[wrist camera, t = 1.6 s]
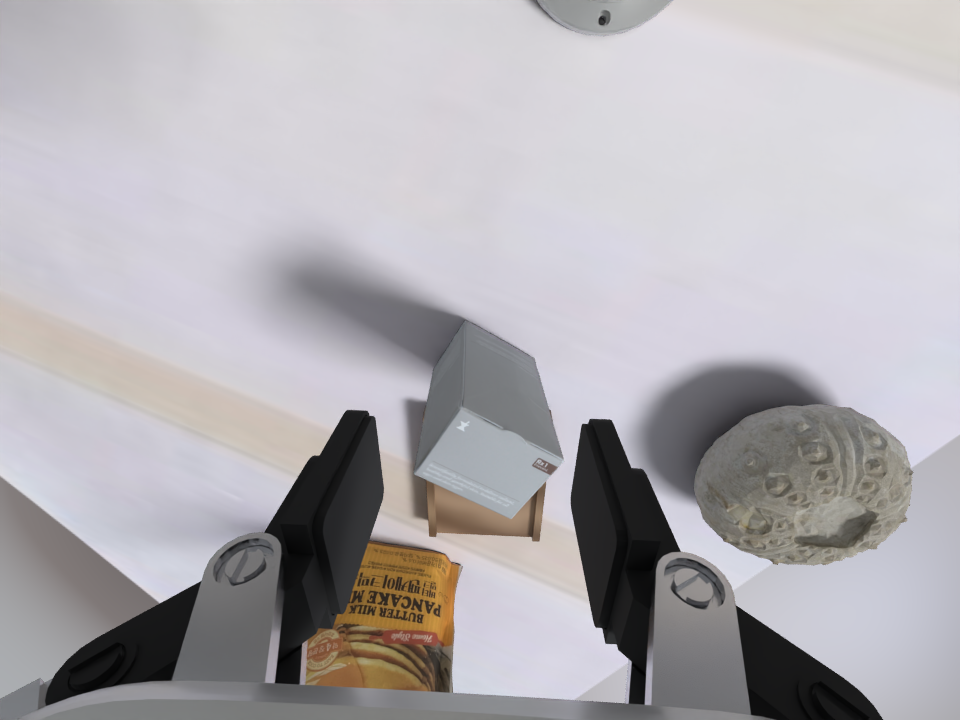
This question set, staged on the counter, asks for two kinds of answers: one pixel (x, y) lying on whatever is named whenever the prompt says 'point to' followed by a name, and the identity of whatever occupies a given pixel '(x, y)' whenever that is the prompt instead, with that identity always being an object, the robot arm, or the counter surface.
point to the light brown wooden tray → (481, 515)
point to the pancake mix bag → (391, 625)
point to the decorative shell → (804, 484)
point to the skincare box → (487, 424)
